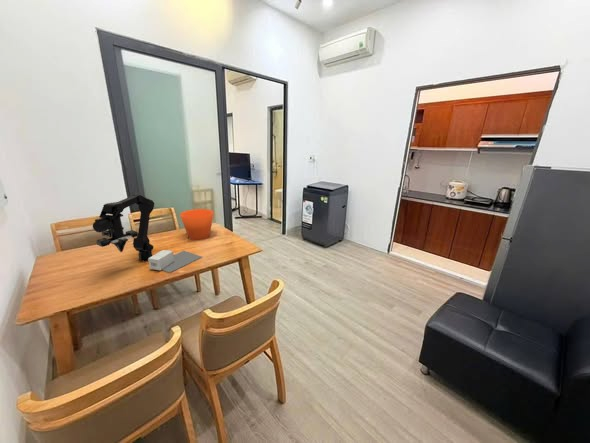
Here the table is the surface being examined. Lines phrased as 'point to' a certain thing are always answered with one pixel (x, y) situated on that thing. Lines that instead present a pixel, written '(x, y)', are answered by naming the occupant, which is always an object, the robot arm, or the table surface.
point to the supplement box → (161, 260)
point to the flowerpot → (197, 223)
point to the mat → (181, 261)
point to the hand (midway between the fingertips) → (121, 251)
